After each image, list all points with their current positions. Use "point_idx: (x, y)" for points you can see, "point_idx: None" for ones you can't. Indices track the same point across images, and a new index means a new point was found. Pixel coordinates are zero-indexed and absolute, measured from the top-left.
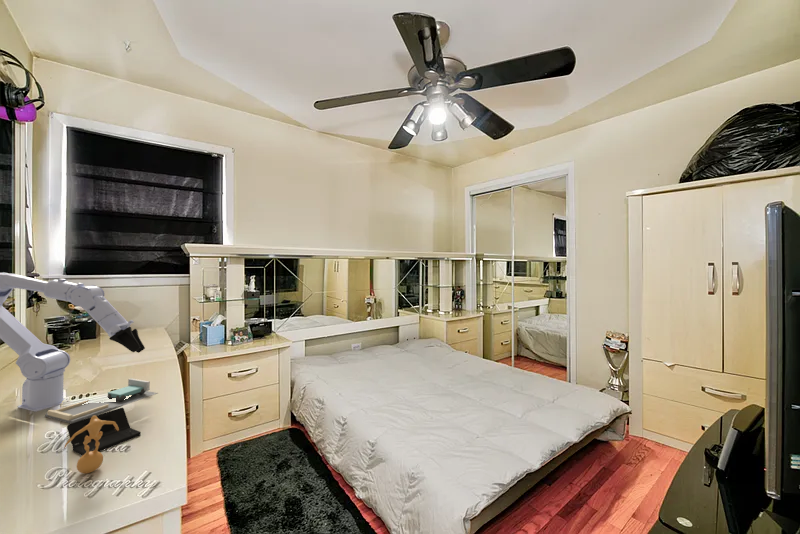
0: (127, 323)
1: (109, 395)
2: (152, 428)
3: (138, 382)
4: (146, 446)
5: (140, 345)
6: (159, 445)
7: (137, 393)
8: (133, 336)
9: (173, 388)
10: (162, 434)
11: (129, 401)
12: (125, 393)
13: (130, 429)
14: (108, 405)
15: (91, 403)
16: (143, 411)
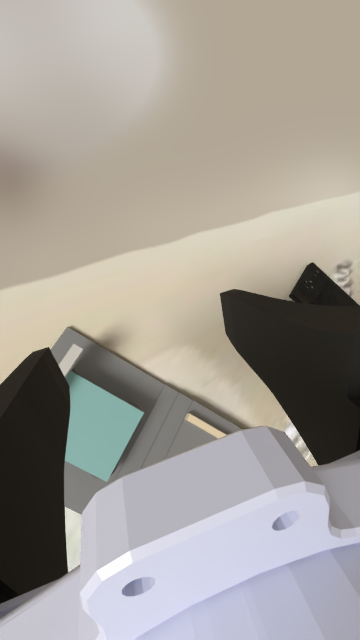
0: (350, 482)
1: (116, 465)
2: (285, 254)
3: None
4: (338, 241)
5: (44, 378)
6: (335, 223)
7: None
8: (302, 307)
9: (7, 298)
10: (306, 230)
11: (133, 383)
12: (127, 403)
13: (303, 285)
14: (170, 424)
15: None
16: (203, 309)
